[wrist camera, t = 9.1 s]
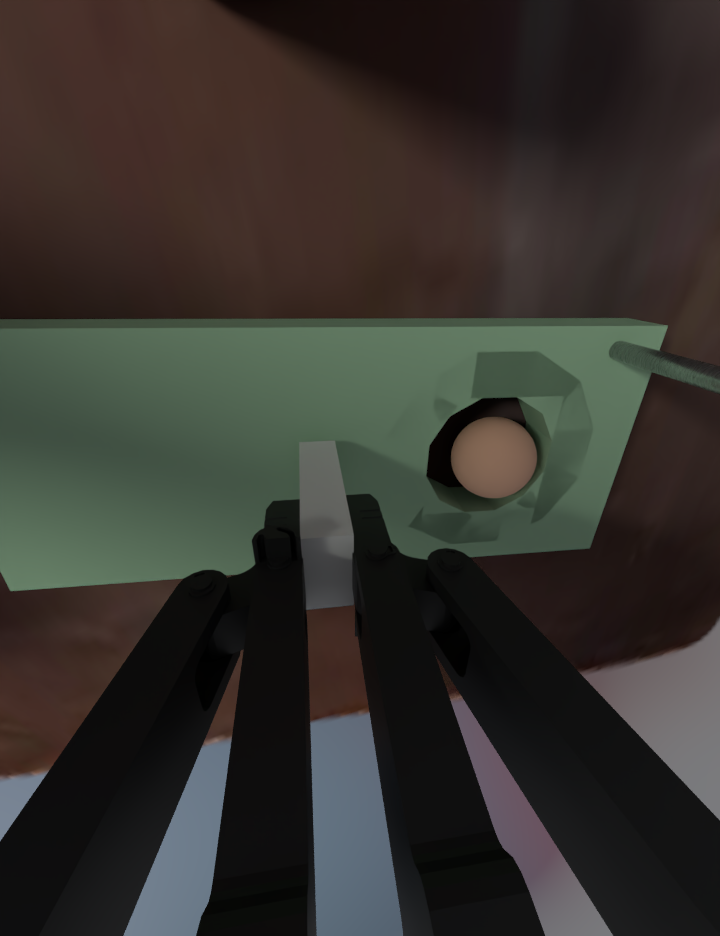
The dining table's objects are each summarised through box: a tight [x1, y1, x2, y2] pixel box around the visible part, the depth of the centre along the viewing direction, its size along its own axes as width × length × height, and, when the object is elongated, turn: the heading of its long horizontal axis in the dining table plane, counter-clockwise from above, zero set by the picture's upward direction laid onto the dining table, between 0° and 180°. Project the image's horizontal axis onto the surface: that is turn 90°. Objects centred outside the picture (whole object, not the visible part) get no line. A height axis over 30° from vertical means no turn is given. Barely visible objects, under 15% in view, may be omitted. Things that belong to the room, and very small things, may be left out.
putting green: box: [0, 318, 668, 591], centre depth 19 cm, size 30×12×2 cm, turn 89°
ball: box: [451, 417, 537, 498], centre depth 20 cm, size 4×4×4 cm
